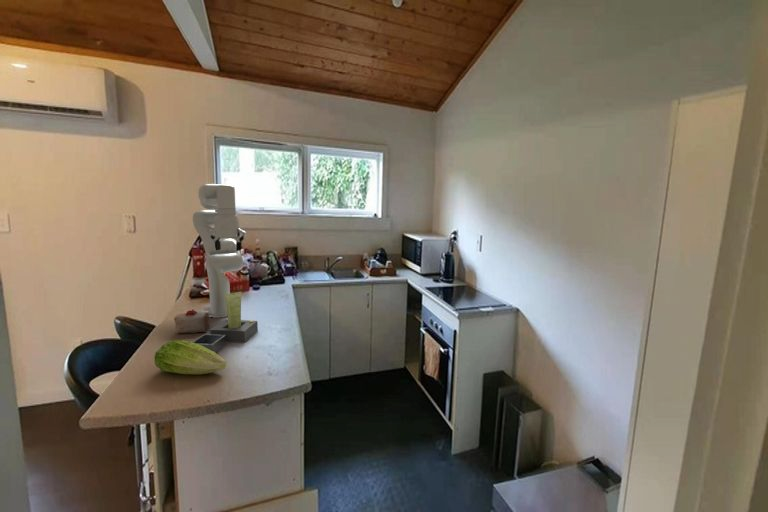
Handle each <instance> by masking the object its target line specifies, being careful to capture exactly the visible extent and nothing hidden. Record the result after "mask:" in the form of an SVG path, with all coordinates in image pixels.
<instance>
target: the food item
mask: <svg viewBox="0 0 768 512" xmlns="http://www.w3.org/2000/svg"><path fill="white" fill-rule="evenodd" d="M208 312H209V311H206V312H205V311H204V312H197V310H195V309H191V310H188V311H186V313H178V314H176V315H175V316H174V317H173V321H174V323H175V333H176V334H177V333H184V334H197V332H203V333H207V332H208V331H210V319H209V318H210V317H209V313H208Z"/></svg>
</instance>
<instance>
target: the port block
mask: <svg viewBox="0 0 768 512" xmlns="http://www.w3.org/2000/svg"><path fill="white" fill-rule="evenodd" d="M258 328H259V327H258V320H245V319H244V320H243V319H241V327H240V328H238V329H232V328H228V319H224V320H222V321H221V322H220V323H218V324H217V325H215V326H213V327H212V328H209V334H219V335H226V336H227V343H244V344H245V343H246V342H247V341H249V340H250V339H252V337H254V336H255V334H256V333H258V331H259V330H258Z"/></svg>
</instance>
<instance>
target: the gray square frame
mask: <svg viewBox="0 0 768 512" xmlns="http://www.w3.org/2000/svg"><path fill="white" fill-rule="evenodd" d="M191 342H192V343H196V344H199V345H202V346H204V347H206V348H207V349H209V350H211V351H213V352H215V353H216V354H217V353H218V352H219V351H221V349H222V348H224V347H225V346H226V345H228V342H227V336H226V335H219V334H210V333H202V335H200V336H198V337H197V338H195V339H194V340H192V341H191Z"/></svg>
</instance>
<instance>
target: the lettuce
mask: <svg viewBox="0 0 768 512" xmlns="http://www.w3.org/2000/svg"><path fill="white" fill-rule="evenodd" d="M154 364H155V366H156V367H157V368H158V369H160V370H162V371H163V372H165V373H166V372H167V373H174V374H180V375H205V374H211V373H216V372H218V371H222V370H223V369H225V368H226V367H227V361H226V360H225V359H224V358H223V357H222V356H220V355H219V354H217V352H216V353H215V352H213V351H211V350H209V349H207V348H206V347H204V346H202V345H199V344H196V343H192V341H188V340H183V339H182V340H181V339H175V340H171V341H167V342H165V343H164V344H163V345H162V346H161V347H160V348H158V350H157V351H156V352H155V353H154Z"/></svg>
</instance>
